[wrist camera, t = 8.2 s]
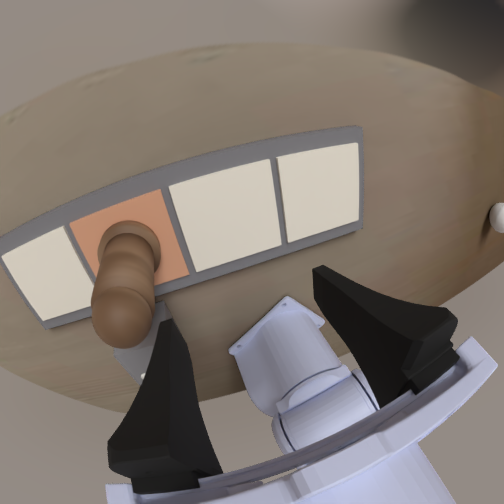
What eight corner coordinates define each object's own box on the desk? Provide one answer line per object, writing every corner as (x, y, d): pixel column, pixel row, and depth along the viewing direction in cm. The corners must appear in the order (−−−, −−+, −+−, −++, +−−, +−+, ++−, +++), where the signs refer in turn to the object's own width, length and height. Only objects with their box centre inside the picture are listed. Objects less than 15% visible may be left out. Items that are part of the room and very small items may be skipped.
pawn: (139, 285, 21) (139, 378, 14) (89, 256, 18) (63, 346, 11) (173, 242, 20) (185, 331, 13) (120, 207, 17) (96, 286, 10)
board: (47, 322, 21) (44, 331, 20) (-5, 239, 15) (-11, 247, 14) (356, 224, 26) (364, 229, 25) (355, 125, 21) (364, 127, 20)
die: (138, 347, 26) (140, 386, 22) (116, 315, 23) (113, 356, 19) (181, 334, 27) (189, 374, 23) (163, 300, 24) (168, 341, 20)
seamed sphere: (492, 222, 38) (511, 235, 34) (481, 226, 37) (503, 240, 33) (501, 187, 34) (522, 199, 30) (491, 188, 33) (515, 201, 29)
